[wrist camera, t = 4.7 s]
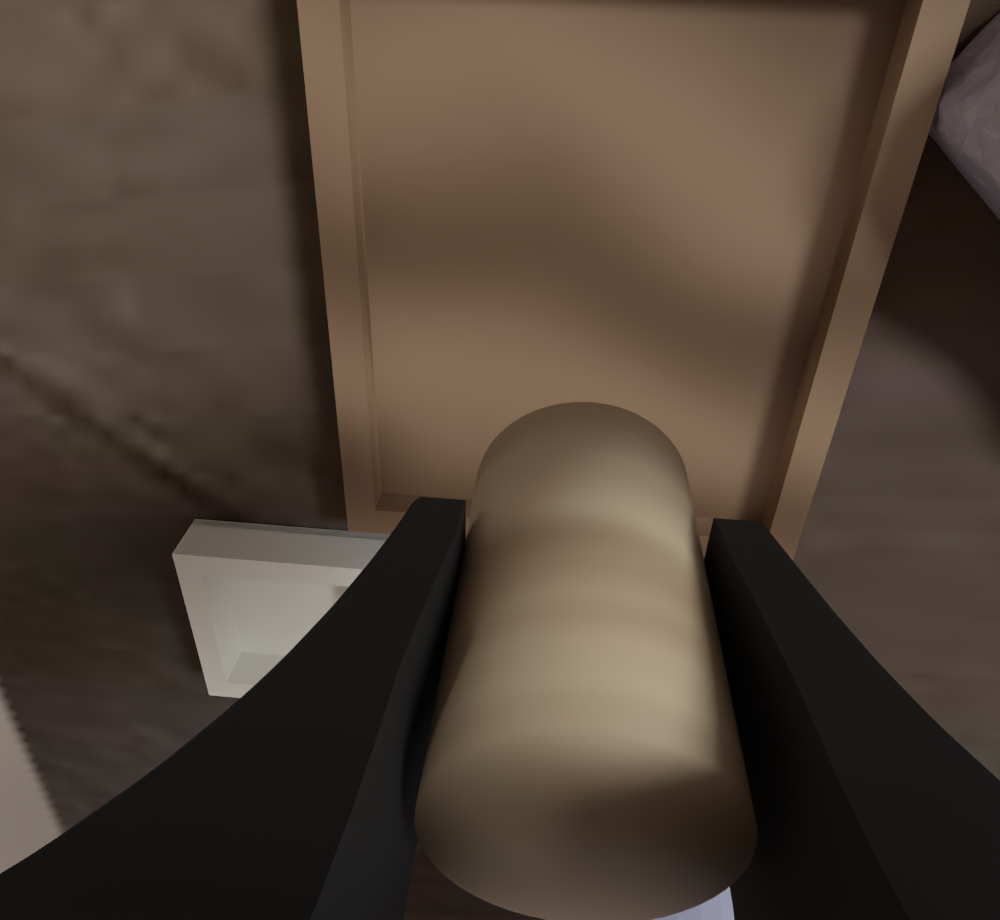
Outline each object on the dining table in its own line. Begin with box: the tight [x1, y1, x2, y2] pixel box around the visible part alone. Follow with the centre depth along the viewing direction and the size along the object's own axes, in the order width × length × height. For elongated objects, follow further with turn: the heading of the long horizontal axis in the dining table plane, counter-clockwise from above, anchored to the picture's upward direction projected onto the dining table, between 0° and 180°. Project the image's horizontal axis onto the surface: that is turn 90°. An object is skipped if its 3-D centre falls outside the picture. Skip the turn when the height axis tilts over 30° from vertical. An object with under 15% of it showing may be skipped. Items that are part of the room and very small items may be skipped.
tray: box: [297, 0, 971, 560], centre depth 18 cm, size 14×12×1 cm
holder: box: [172, 519, 390, 698], centre depth 24 cm, size 6×6×2 cm
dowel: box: [414, 402, 758, 920], centre depth 10 cm, size 3×3×6 cm
